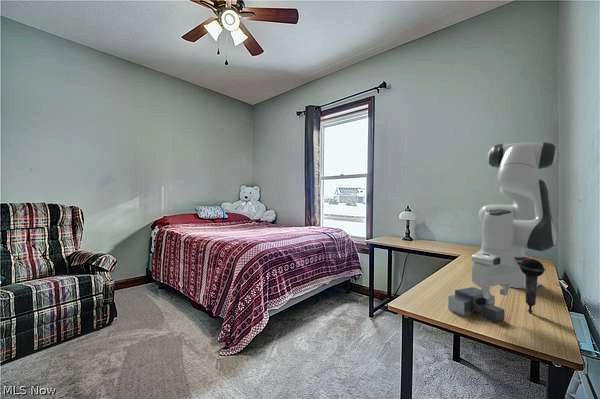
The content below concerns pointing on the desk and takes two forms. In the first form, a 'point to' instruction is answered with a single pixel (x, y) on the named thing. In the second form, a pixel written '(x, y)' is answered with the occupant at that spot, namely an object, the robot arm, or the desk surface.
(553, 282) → the desk surface
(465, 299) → the block
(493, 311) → the plug
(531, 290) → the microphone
